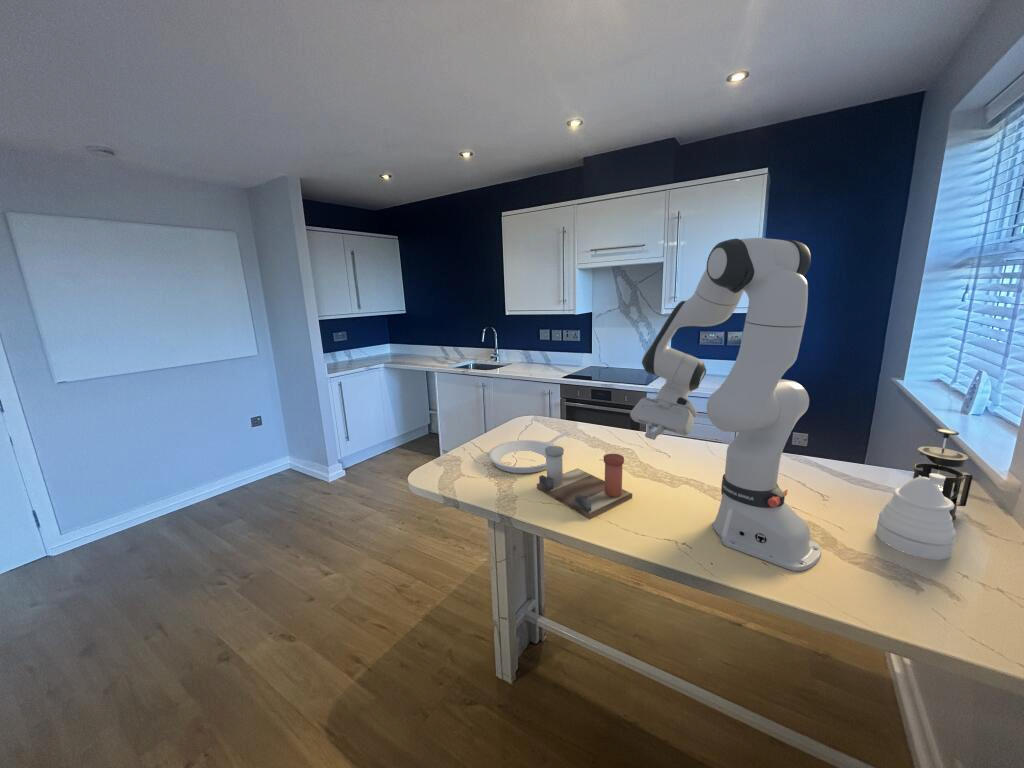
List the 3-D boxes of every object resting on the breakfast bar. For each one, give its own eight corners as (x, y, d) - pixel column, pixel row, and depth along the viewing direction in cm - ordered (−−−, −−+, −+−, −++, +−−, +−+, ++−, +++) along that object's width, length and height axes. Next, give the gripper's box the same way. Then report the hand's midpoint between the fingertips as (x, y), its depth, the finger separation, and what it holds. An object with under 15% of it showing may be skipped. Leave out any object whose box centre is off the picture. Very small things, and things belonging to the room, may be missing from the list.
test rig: (632, 498, 120) (632, 484, 119) (589, 519, 110) (589, 504, 109) (577, 472, 138) (577, 460, 137) (537, 488, 128) (536, 475, 127)
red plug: (627, 493, 119) (628, 458, 117) (614, 499, 116) (614, 463, 113) (612, 486, 124) (612, 452, 121) (599, 491, 121) (599, 457, 118)
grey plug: (567, 483, 127) (567, 449, 124) (553, 488, 124) (553, 454, 121) (555, 476, 132) (555, 444, 129) (541, 481, 128) (541, 449, 126)
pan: (475, 462, 151) (474, 450, 150) (545, 435, 176) (545, 425, 175) (522, 484, 132) (522, 471, 131) (594, 451, 157) (594, 439, 155)
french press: (914, 518, 105) (931, 434, 100) (894, 500, 113) (909, 423, 108) (974, 525, 101) (995, 438, 96) (948, 506, 110) (967, 426, 104)
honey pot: (965, 552, 91) (983, 479, 87) (927, 565, 88) (944, 489, 84) (898, 522, 103) (911, 457, 99) (862, 532, 100) (874, 465, 96)
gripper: (638, 391, 136) (618, 424, 133) (695, 403, 120) (674, 441, 116) (646, 401, 140) (627, 434, 136) (702, 414, 123) (682, 452, 120)
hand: (649, 437), depth 126 cm, fingers closed
